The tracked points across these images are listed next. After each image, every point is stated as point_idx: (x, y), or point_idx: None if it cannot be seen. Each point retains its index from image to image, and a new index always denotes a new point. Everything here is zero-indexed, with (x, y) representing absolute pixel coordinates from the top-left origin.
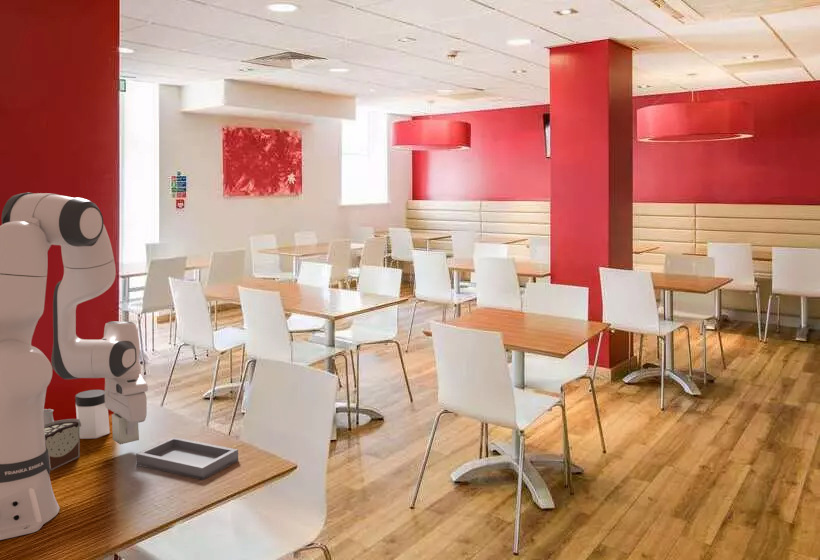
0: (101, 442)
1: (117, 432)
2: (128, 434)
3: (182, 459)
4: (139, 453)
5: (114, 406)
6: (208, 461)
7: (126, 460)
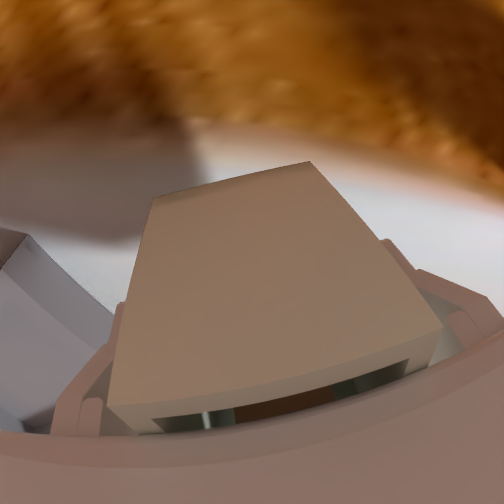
0: (462, 118)
1: (195, 235)
2: (121, 307)
3: (30, 370)
4: (3, 283)
5: (468, 470)
6: (16, 401)
7: (101, 191)
